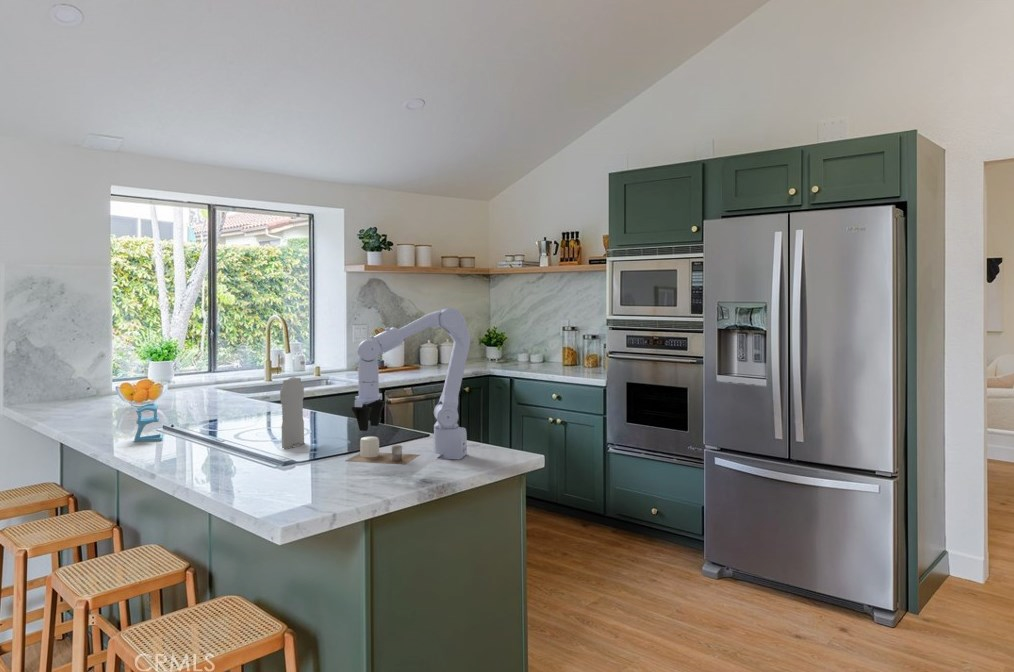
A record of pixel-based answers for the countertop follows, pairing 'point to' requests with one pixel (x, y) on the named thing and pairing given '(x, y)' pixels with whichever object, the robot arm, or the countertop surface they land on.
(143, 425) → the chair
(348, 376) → the countertop surface
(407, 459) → the post board
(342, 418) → the countertop surface
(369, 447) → the cap
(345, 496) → the countertop surface
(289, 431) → the tall pale column
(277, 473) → the countertop surface
